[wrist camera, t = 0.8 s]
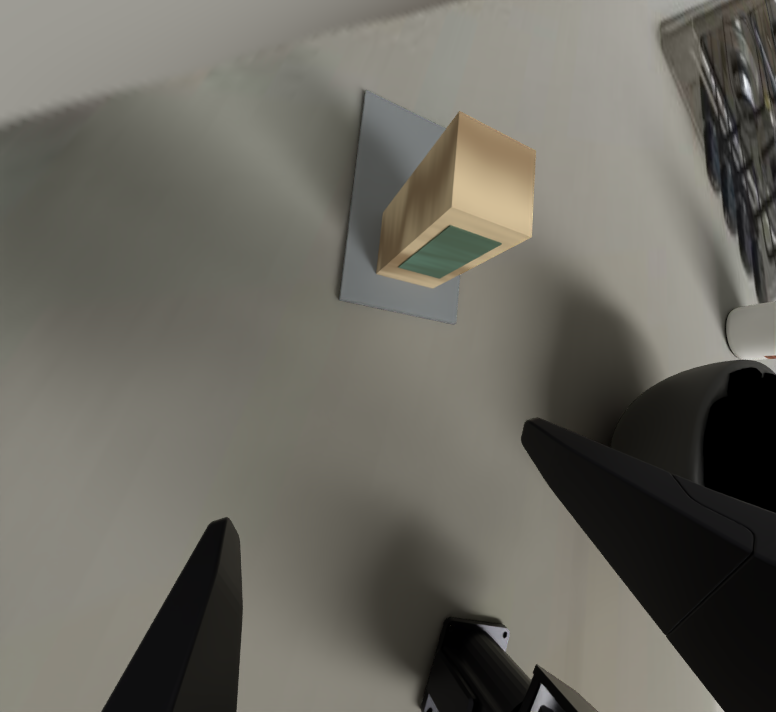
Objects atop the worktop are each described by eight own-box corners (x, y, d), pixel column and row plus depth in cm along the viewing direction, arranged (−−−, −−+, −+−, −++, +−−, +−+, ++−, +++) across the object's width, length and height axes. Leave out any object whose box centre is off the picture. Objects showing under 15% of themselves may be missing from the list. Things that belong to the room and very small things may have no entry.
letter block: (432, 289, 26) (531, 238, 16) (375, 275, 24) (451, 208, 15) (437, 231, 26) (535, 150, 17) (382, 212, 24) (459, 110, 15)
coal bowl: (674, 553, 36) (1055, 710, 19) (551, 555, 29) (985, 812, 12) (680, 383, 39) (1014, 385, 22) (570, 346, 32) (938, 307, 15)
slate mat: (453, 324, 27) (456, 323, 26) (338, 300, 23) (340, 298, 23) (467, 143, 29) (470, 140, 28) (364, 94, 25) (366, 89, 25)
